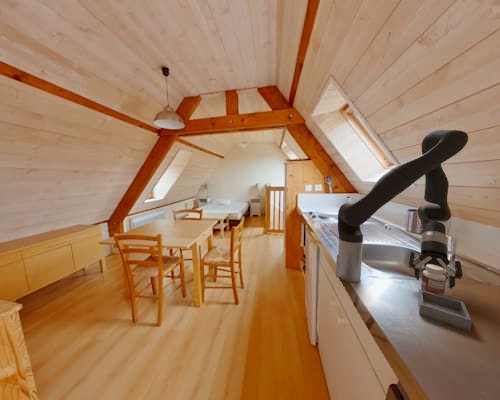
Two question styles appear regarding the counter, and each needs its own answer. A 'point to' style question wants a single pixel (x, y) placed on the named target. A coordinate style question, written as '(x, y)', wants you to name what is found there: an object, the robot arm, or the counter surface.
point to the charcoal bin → (444, 310)
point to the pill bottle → (433, 280)
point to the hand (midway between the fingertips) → (433, 283)
